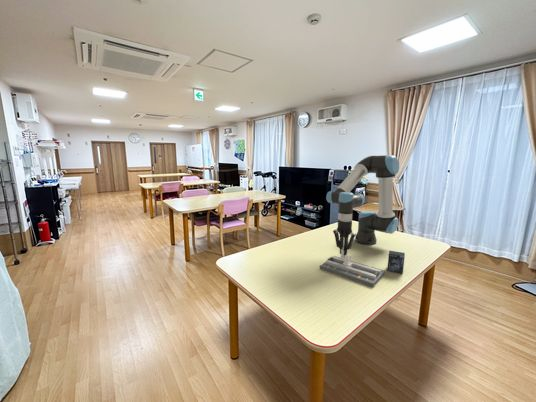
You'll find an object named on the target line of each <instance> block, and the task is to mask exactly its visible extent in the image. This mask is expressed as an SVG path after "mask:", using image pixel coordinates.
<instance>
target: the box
mask: <svg viewBox="0 0 536 402" xmlns="http://www.w3.org/2000/svg"><path fill="white" fill-rule="evenodd" d="M405 257H406V255H405V252H402V251H401V252H400V251H396V250H388V260H387V267H386V270H387V272H391V273H392V272H393V273H397V274H401V275H403V274H404V266H405Z"/></svg>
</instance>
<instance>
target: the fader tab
mask: <svg viewBox="0 0 536 402" xmlns="http://www.w3.org/2000/svg"><path fill="white" fill-rule="evenodd" d="M351 261H352V254H350V253H347V255H345V262H344V263H343V265H346V266H349V267H352V263H351Z"/></svg>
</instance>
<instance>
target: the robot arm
mask: <svg viewBox="0 0 536 402" xmlns="http://www.w3.org/2000/svg"><path fill="white" fill-rule="evenodd" d="M399 172H400V162H399V159H398V157H397V156H395V155H389V154H385V155H369V156H366V157H365V158H362V160H360V161H358V162H357V163H356V164H355V165H354V167H353V170H352V171H351V172H350V173H349V174H348V176H346V177H345V178H344V180H343V181H342V182H341V183H340V184H339V186H337V188H336V189H335V190H334V191H333V190H332V191H331V190H330V191H328V192H327V193H326V197H325V199H326V201H327V203H329V204H333V205H338V210H337V211H338V213H337V219H338V220H337V228H336V229H333V231H332V232H333V235H334V239H335V245H336V247H337V248H339V255H340V258H341V260H342V261H344V260H345V255H347V254H348V251H349V250H350V249H352V246H353V242H354V241H355V242H356V243H358V244H361V245H365V246H366V245H367V246H368V245H369V246H371V245H376V244H377V241H378V240H377V236H376V232H381V233H385V234H390V235H393V233H395V232H396V231H397V229H398V226H399V218H398V217H396V214H395V212H394V209H393V208H394V207H393V206H394V205H393V203H394V202H393V201H394V199H393V193H394V191H393V190H394V189H393V188H394V186H393V183H394V182H393V181H394V180H393V179H394V178H395V177H396V175H397V174H398V173H399ZM368 174H375V177H376V179H377V181H378V182H377V183H378V184H377V185H378V211H375V210H374V211H373V210H366V211H360V212H359V213H358V222H357V224H358V226H357V232H356V233H354V232H353V229H352V228H353V227H352V226H353V209H355V208H360V207H361V206H363V205H365V202H366V197H365V196H364V194H362V193H353V192H351V191H352V190H353V189H354V188H355V186H356V185H357V184H358V183H359V182H360V181H361V180H362V178H363V177H365V176H367V175H368ZM375 231H376V232H375ZM349 236H350V237H349Z"/></svg>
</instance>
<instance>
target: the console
mask: <svg viewBox="0 0 536 402" xmlns="http://www.w3.org/2000/svg"><path fill="white" fill-rule="evenodd" d="M344 262H345V260H344V261H342V260H341V256H336V255H333V256H332V255H331V256H330V257H329V258H327V259H326V260H325V262H323V263H322V264H320V265H319V269H320V270H322V271H326V272H328V273H331V274H334V275H336V276H340V277H343V278H345V279H347V280H351V281H355V282H357V283H359V284H363V285H366V286H368V287H371V288H374V287H375V286H376V285H377V284H378V283H379V282H380V280H381V279H382V278H383V277H384V276H385V275H386V270H384V269H381V268H379V267H378V268H377V267H374V266H371V265H367V264H364V263H360V262H357V261H354V260H351V263H352V267H349V266H346V265H343V263H344Z"/></svg>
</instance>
